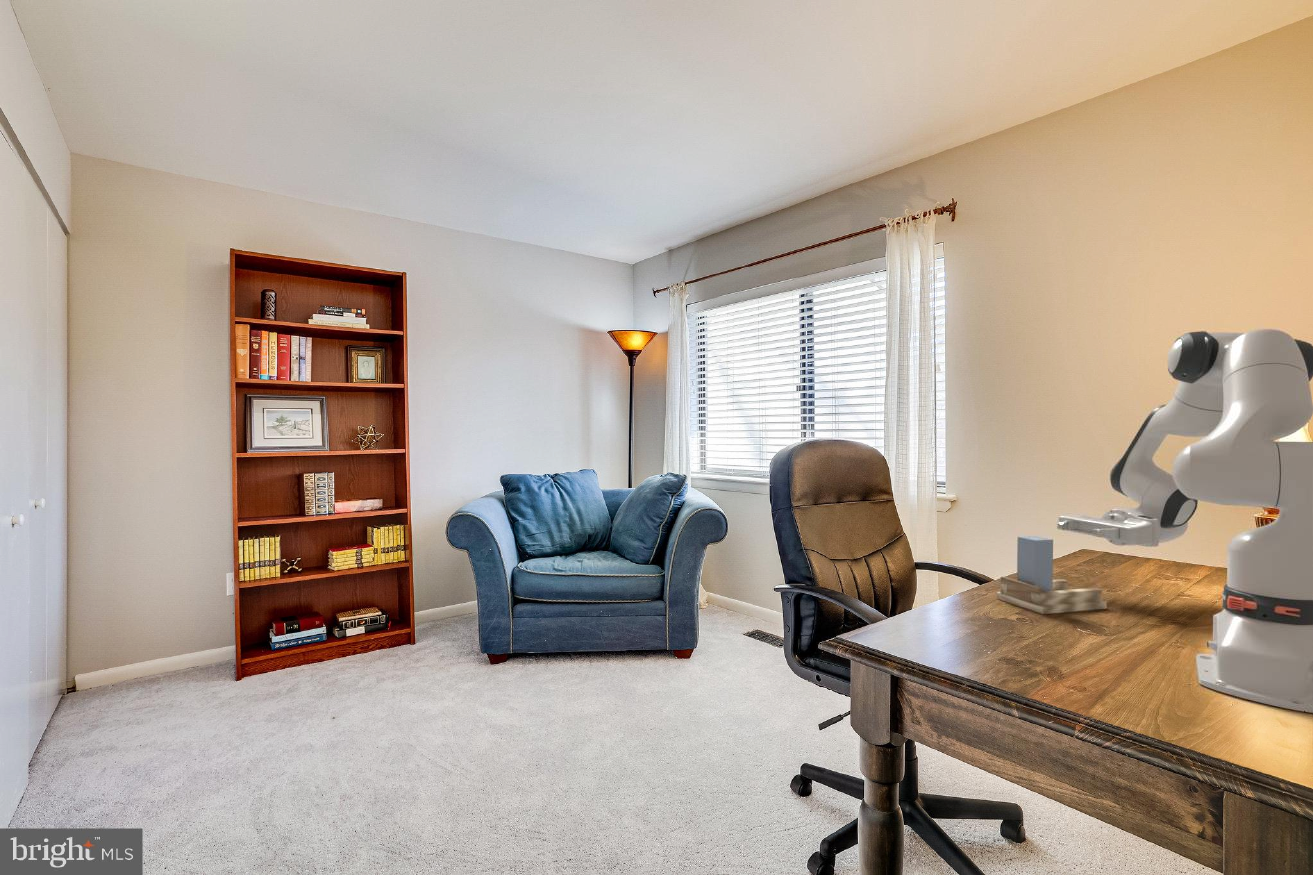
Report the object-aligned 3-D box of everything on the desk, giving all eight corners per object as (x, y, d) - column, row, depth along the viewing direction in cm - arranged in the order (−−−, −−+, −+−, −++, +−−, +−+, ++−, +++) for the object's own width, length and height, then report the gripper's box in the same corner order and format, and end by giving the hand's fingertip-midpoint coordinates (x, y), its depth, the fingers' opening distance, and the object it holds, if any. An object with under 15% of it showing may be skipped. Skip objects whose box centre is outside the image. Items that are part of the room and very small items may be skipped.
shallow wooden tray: (1042, 614, 137) (1042, 589, 137) (996, 598, 150) (996, 575, 149) (1106, 608, 141) (1106, 584, 141) (1056, 593, 154) (1057, 571, 154)
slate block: (1034, 601, 141) (1035, 540, 141) (1016, 596, 146) (1017, 536, 146) (1052, 600, 143) (1053, 539, 142) (1034, 594, 147) (1034, 535, 147)
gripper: (1083, 508, 161) (1040, 510, 157) (1166, 520, 141) (1118, 523, 138) (1083, 532, 161) (1039, 535, 158) (1165, 548, 141) (1117, 551, 138)
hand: (1077, 529), depth 147 cm, fingers open, 8 cm apart
